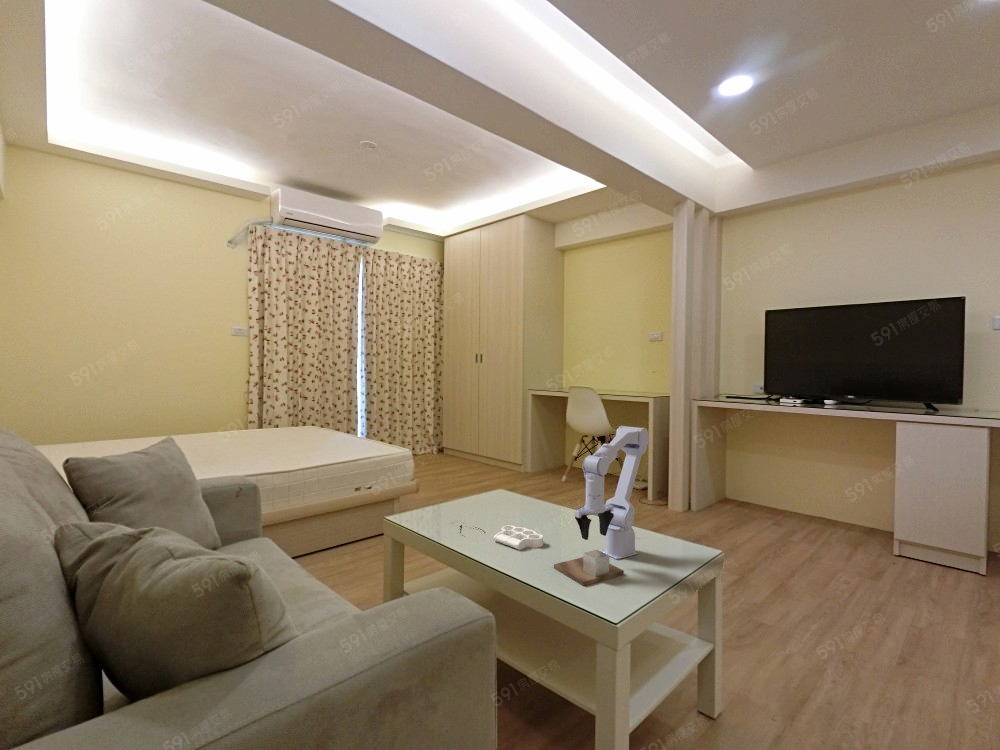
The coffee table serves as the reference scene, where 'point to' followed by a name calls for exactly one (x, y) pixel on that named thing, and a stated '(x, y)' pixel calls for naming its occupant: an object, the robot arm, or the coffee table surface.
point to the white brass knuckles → (519, 537)
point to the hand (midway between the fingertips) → (594, 536)
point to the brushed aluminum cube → (596, 563)
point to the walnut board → (577, 573)
